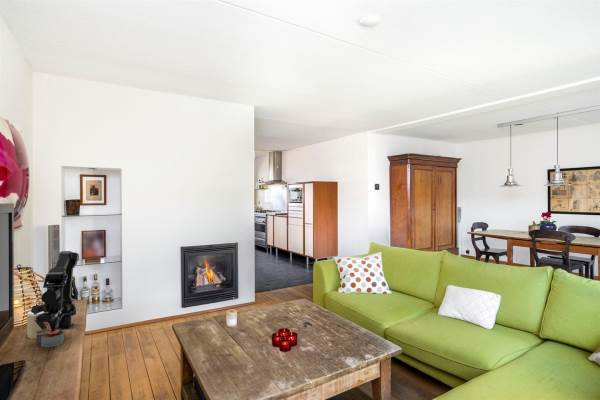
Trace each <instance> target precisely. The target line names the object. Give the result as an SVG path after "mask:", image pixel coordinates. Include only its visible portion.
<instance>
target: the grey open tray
mask: <svg viewBox="0 0 600 400" xmlns="http://www.w3.org/2000/svg"><path fill="white" fill-rule="evenodd" d="M64 339H65V332H64V331H62V330H59V333H57V334H54V335H47V333H45V334H43V335H37V336H36V338H35V343H40V346H41V348H55V347H58V346H60V345H61V344H63V343H64V342H65V341H64Z"/></svg>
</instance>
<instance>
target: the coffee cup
mask: <svg viewBox="0 0 600 400" xmlns="http://www.w3.org/2000/svg"><path fill="white" fill-rule="evenodd" d="M42 313H43V312H40V313H37V314H35V315H34V313H32V312H31V310H29V311H27V313H26V327H27V328H26V329H27V339H36V336H37V335H43V334H45V333H47V331H48V330H49V326H50V325H49V323H48V322H36V317H37V316H38V315H40V314H42ZM46 313H48V312H46Z"/></svg>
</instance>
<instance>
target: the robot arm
mask: <svg viewBox="0 0 600 400" xmlns="http://www.w3.org/2000/svg"><path fill="white" fill-rule="evenodd" d="M79 260H80V254H79V253H78V252H74V251H71V250H63V251H60V252H59V254H58V259H57V261H56V263H55V265H54V267H52V268H50V269H49V270H48V272H47V273H46V274H45V278H44V282H43V286H42V288H43V289H46V290H45V291H44V292H43V293H42V295H41V296H40V297H41V301H42V302H43V303H41V304H36V305H33V306H32V307H31V310H30V311H31V312H32V313H34V315H35V314H37V313H40V312H43V313H42V314H40V315H38V316H37V317H36V322H48V323H49V325H48V326H49V327H50V330H51V331H54V330H55V329H59V330H60V329H61V330H63V329H69V328H71V327H72V326H74V325H75V323H72V316H74V315H76V314H77V306H76V305H75V303H74V302H75V301H74V299H73V297H72V295H71V294H72V287H73V275H74V268H75V267H76V266H77V265H78V261H79ZM46 312H48V313H46Z"/></svg>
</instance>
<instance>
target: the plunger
mask: <svg viewBox="0 0 600 400" xmlns="http://www.w3.org/2000/svg"><path fill="white" fill-rule="evenodd" d="M59 331H60V329H55V330H54V331H51V329H48V331H47V335H54V334H57V333H59Z"/></svg>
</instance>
